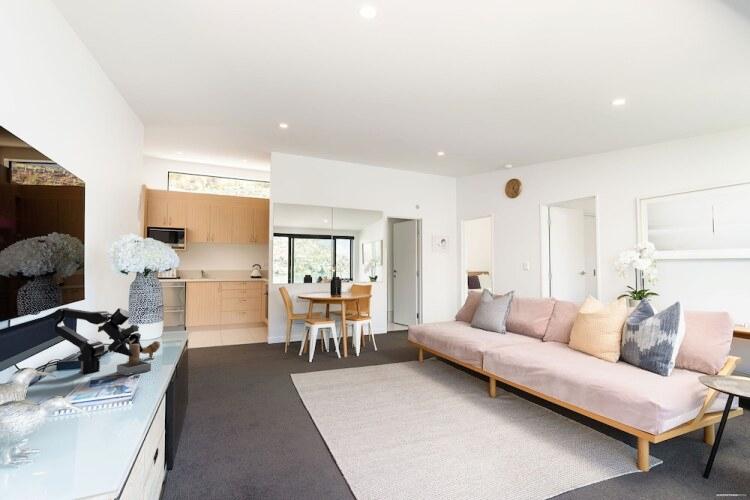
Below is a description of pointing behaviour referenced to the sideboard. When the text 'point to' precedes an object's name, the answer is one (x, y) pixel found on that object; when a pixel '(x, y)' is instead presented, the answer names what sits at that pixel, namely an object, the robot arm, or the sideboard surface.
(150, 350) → the lion figurine
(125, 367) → the box
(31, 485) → the sideboard surface
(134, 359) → the walnut handle
